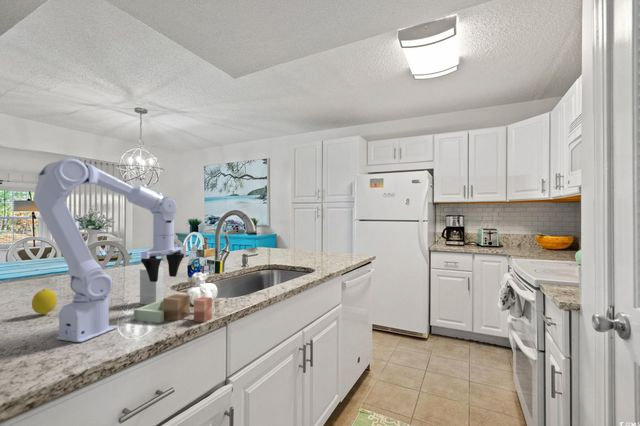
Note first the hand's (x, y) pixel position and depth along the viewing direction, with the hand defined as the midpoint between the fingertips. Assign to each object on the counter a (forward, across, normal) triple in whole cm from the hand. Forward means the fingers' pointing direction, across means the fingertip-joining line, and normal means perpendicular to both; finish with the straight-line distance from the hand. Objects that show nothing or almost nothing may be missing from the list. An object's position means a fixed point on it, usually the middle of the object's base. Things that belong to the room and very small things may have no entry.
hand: (163, 278), depth 90 cm
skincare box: (+11, +7, +12) cm, 17 cm away
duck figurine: (+11, +12, -4) cm, 17 cm away
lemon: (+11, -11, +34) cm, 37 cm away
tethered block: (+10, -3, -11) cm, 16 cm away
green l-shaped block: (+10, -3, -2) cm, 11 cm away
